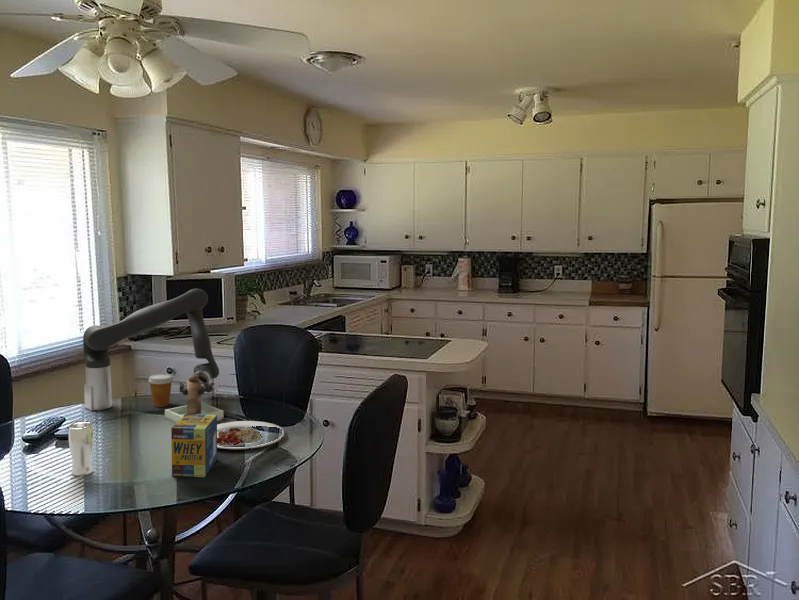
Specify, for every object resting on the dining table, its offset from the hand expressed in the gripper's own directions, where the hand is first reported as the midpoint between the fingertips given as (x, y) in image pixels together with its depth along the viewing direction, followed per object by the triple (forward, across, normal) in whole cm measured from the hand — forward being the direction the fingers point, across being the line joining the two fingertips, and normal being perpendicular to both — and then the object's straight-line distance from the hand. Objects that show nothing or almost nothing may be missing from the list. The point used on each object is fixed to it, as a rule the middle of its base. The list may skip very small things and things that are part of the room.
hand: (192, 392), depth 262 cm
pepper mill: (-3, 0, +9) cm, 9 cm away
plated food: (+21, +21, +12) cm, 31 cm away
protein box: (+49, +9, +11) cm, 51 cm away
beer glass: (+51, -25, +11) cm, 57 cm away
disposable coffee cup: (-22, -17, +12) cm, 30 cm away
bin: (-2, 0, +11) cm, 11 cm away
